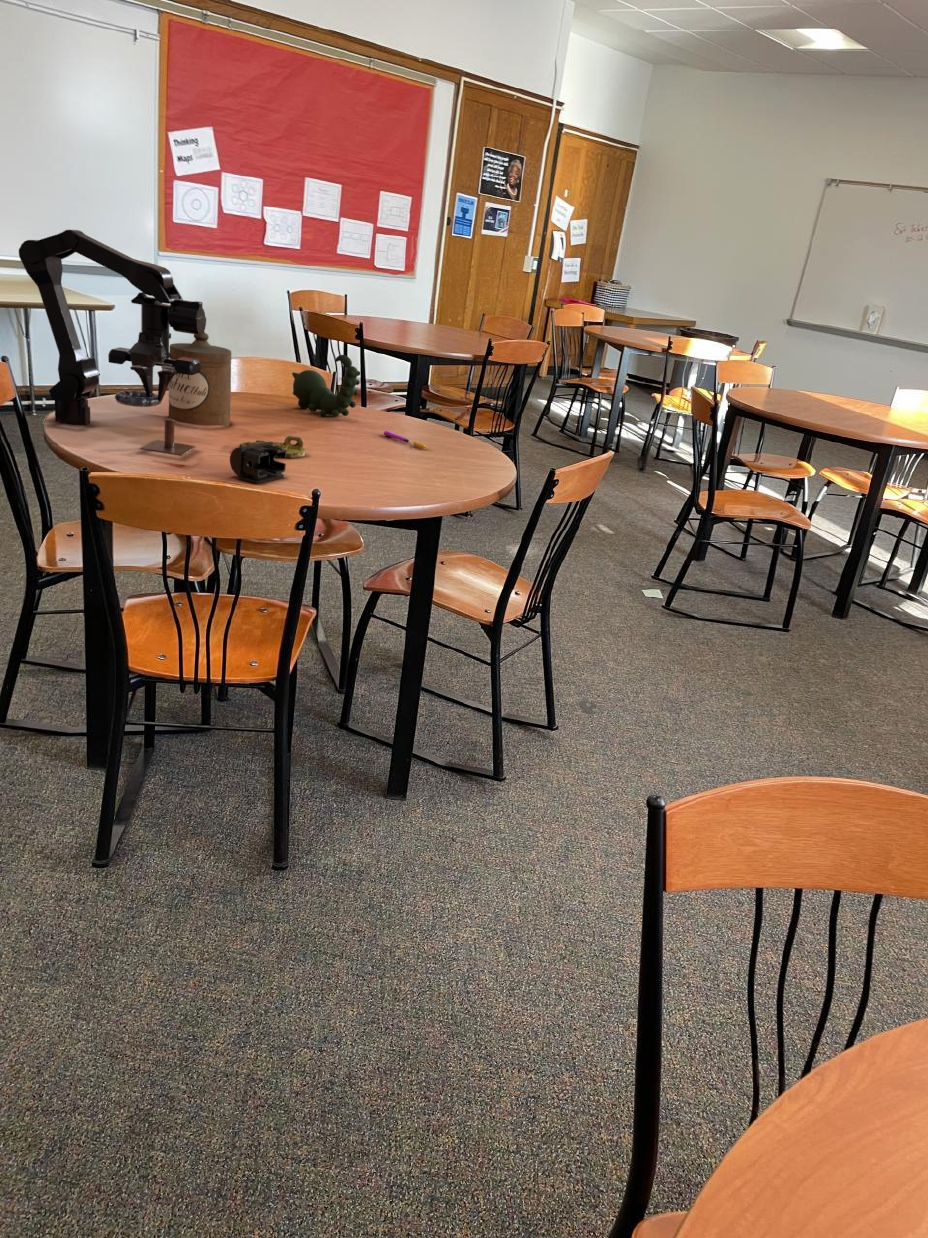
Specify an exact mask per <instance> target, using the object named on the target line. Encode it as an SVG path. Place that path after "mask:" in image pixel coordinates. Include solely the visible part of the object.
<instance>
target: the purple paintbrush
mask: <svg viewBox="0 0 928 1238" xmlns="http://www.w3.org/2000/svg"><path fill="white" fill-rule="evenodd" d="M383 435H384V436H386V437H389V438H391V439H392V438H393V439H395V440H398V441H401V442H403V443H411V444H413V446H414V447H416V448H421V449H424V450H425V449H428V448H429V447H427V446H426V445H425V444H423V443H421V442H418V441H414V442H413V441H410V439H408V438H406V437H403V436H401V435H399V434H395V433H394V432H390V431H389V430H385V431H384V432H383Z"/></svg>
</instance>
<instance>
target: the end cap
mask: <svg viewBox="0 0 928 1238" xmlns="http://www.w3.org/2000/svg"><path fill="white" fill-rule="evenodd" d="M273 442H274V441H266V442H264V443H258V444H253V445H248V446H243V447H239V446H237V447H235V448H234V449H233V450H232V451H231V452H230V455H229V466H230V467H231V468H230V469H232V471H233V473H234V474H235V475H236V476H237V477H238V478H239V479H240V480H242V481H243V482H248V483H251V484H255V485H260V484H264V483H268V482H273V481H276V480H281V479H283V478H285V474H284V472H286V467H287V464H286V463H285V462H281V461H278V460H276V457H275V456H280V457H279V458H282V457H284V458H283V459H287V458H286V453H287V452H286V450H284V449H281V448H278V447H274V446H273Z"/></svg>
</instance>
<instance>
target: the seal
mask: <svg viewBox="0 0 928 1238" xmlns="http://www.w3.org/2000/svg"><path fill="white" fill-rule="evenodd" d="M291 441H293V442H296V443H292V442H291ZM264 442H267V441H265V440H260V439H259V440H258V439H257V440H255V441H254V442H251V441H245V442H242V443H240V444H239V446H238V447H243V446H248V445H253V444H258V443H264ZM272 442H273V446H274V447H278V448H281V449H284V450H286V452H287V453H286V458H284V457H280V456H275V458H283V459H295V458H301V457H305V456H306V448H304V439H303V437H300V436H292V435H288V436H286V437H285V439H284V442H276V441H275V442H274V441H272Z"/></svg>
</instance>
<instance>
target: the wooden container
mask: <svg viewBox="0 0 928 1238" xmlns="http://www.w3.org/2000/svg"><path fill="white" fill-rule="evenodd" d="M193 339H194V340H193V342H191V343H189V342H185V343H184V342H176V343H171V344H169V352H170V353H171V357H170V358H169V359H173V360H176V359H179V358H182V357H186V358H192V359H198V360H199V362H200V364H201V372H200V373H197V374H194V375H186V374H180V373H178V374H175V375H174V376H173V378H172V380H171V381H170V383H169V385H168V418H169V419H174V420H175V421H176V422H180V423H184V424H189V425H196V426H221V427H228V426H230V424H231V404H232V403H231V401H232V350H230V349H228V348H226V347H222V346H217V345H211V344H210V343H209V341H208V340H209V334H207V333H206V331H204V333H203V334H202V335H196V334H193Z"/></svg>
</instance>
